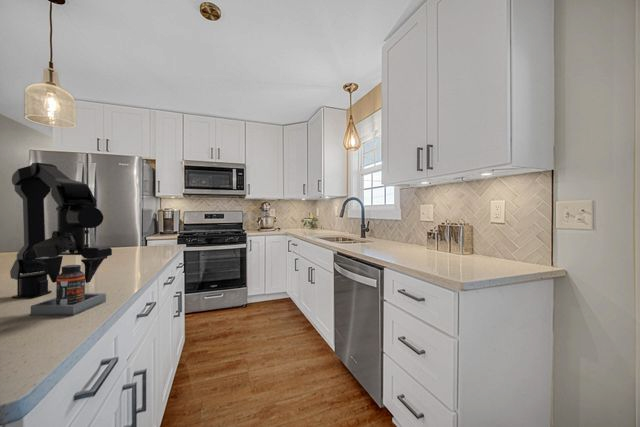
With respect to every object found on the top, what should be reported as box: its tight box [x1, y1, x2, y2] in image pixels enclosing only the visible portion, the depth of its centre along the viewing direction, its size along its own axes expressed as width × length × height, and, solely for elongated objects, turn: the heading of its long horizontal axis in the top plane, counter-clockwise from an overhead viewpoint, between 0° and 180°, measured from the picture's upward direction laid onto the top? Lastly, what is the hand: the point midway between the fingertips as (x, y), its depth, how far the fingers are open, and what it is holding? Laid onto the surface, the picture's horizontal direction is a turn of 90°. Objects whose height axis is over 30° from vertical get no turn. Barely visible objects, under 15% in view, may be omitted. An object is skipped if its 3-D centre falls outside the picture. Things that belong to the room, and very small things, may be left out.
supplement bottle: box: [55, 264, 86, 305], centre depth 76 cm, size 6×6×11 cm
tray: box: [30, 292, 107, 317], centre depth 76 cm, size 11×11×2 cm
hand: (71, 282), depth 76 cm, fingers open, 9 cm apart
